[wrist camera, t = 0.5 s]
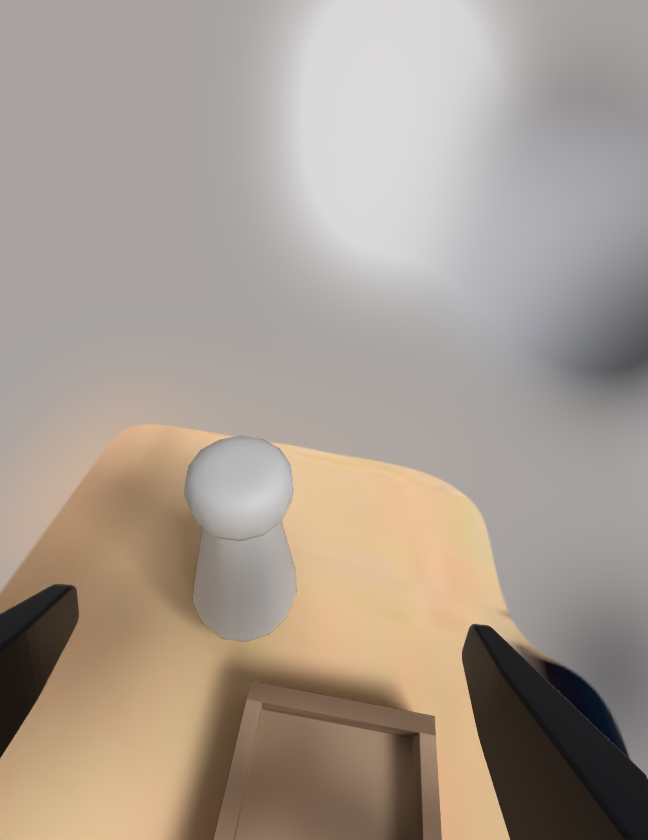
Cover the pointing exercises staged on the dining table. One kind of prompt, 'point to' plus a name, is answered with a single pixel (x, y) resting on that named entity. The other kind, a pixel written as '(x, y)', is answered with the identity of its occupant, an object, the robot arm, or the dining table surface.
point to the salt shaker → (242, 537)
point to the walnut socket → (330, 771)
